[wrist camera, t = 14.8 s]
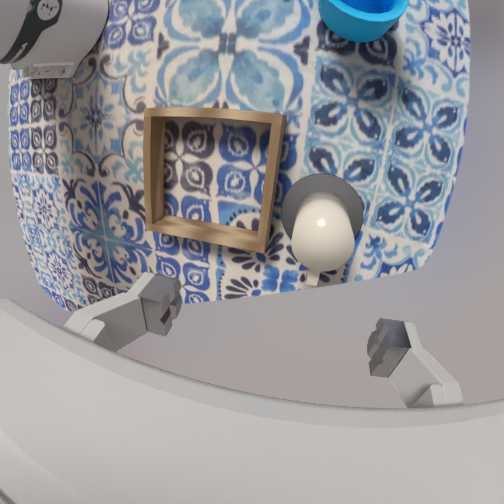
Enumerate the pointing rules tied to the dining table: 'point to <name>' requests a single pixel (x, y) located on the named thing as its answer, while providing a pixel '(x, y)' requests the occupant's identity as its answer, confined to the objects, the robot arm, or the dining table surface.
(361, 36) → the mug
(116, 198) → the dining table surface
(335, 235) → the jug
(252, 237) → the holder
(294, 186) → the grey oval disc
